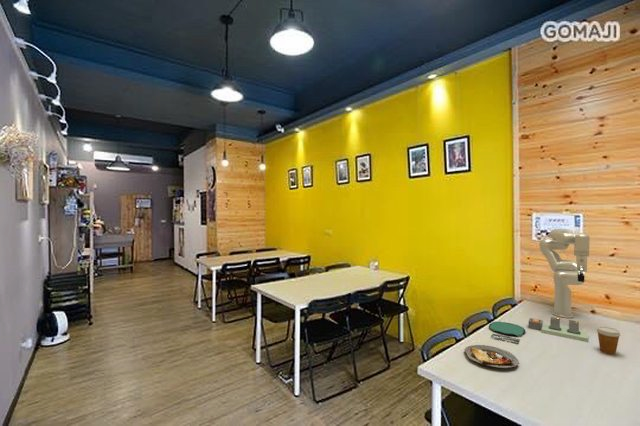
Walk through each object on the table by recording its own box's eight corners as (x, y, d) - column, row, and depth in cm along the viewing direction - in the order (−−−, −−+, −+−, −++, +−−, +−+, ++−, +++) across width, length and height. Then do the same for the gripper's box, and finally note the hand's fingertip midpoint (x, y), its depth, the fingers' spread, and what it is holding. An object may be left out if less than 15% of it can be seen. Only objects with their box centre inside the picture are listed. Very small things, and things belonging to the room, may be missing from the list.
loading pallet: (527, 330, 201) (527, 322, 200) (530, 323, 212) (530, 316, 211) (588, 342, 183) (588, 334, 182) (587, 334, 194) (587, 326, 194)
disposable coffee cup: (610, 348, 176) (610, 326, 176) (624, 356, 167) (625, 333, 166) (591, 347, 177) (592, 325, 177) (605, 355, 168) (605, 332, 167)
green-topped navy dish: (526, 329, 203) (526, 325, 203) (522, 347, 179) (522, 343, 179) (491, 322, 215) (491, 319, 215) (483, 338, 191) (483, 334, 191)
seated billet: (550, 331, 197) (550, 318, 197) (550, 329, 201) (550, 316, 201) (559, 333, 194) (559, 320, 194) (559, 331, 198) (560, 318, 198)
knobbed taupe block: (568, 335, 192) (569, 321, 192) (568, 332, 195) (569, 319, 195) (578, 337, 189) (578, 323, 189) (578, 334, 193) (578, 321, 192)
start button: (531, 324, 204) (532, 320, 203) (532, 323, 206) (532, 318, 206) (538, 326, 201) (538, 321, 201) (539, 324, 204) (539, 319, 204)
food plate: (526, 374, 150) (526, 366, 150) (472, 369, 154) (472, 362, 154) (506, 351, 174) (506, 344, 174) (460, 347, 179) (460, 341, 179)
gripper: (589, 255, 196) (589, 283, 196) (588, 252, 209) (587, 278, 210) (574, 254, 200) (573, 281, 201) (573, 251, 214) (573, 276, 215)
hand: (580, 280), depth 205 cm, fingers open, 9 cm apart
